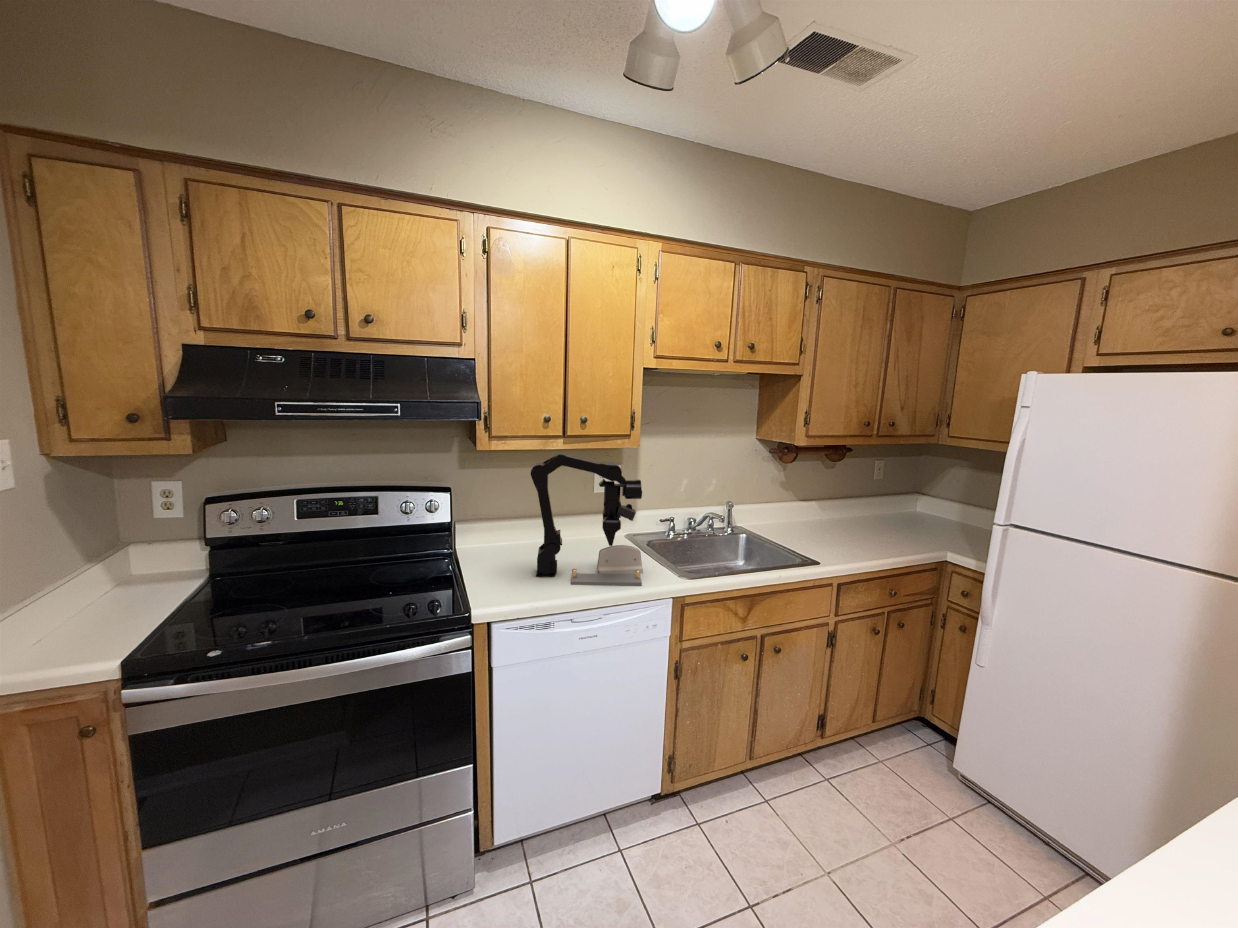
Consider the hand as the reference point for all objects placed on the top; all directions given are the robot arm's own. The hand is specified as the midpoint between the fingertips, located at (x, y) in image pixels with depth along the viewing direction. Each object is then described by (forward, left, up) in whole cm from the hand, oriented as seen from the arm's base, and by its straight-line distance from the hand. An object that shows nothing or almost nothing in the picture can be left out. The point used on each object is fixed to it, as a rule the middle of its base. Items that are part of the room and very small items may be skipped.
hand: (610, 541), depth 178 cm
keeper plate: (-2, -6, -12) cm, 14 cm away
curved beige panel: (+4, +2, -13) cm, 13 cm away
